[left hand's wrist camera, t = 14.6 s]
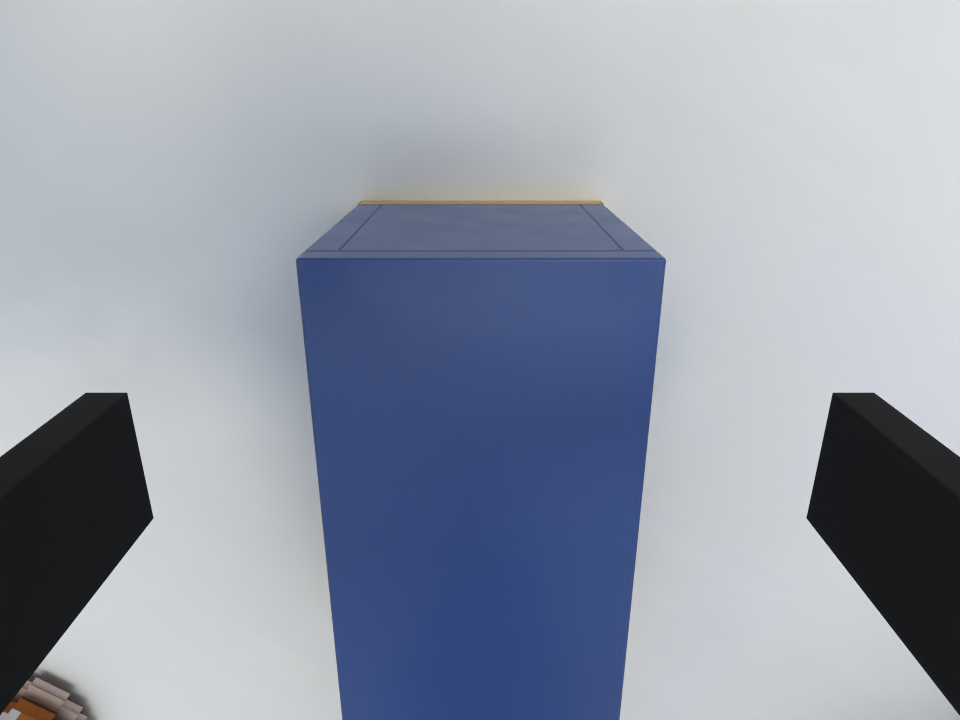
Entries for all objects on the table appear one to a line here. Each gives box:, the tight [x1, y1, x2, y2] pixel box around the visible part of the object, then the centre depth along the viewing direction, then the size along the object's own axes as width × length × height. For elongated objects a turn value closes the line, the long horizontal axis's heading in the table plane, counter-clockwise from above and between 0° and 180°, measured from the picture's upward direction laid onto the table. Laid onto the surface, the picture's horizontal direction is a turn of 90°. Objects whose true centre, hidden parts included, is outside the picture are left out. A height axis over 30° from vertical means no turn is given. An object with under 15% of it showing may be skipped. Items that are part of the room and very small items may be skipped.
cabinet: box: [296, 201, 666, 720], centre depth 29 cm, size 19×11×12 cm, turn 0°
